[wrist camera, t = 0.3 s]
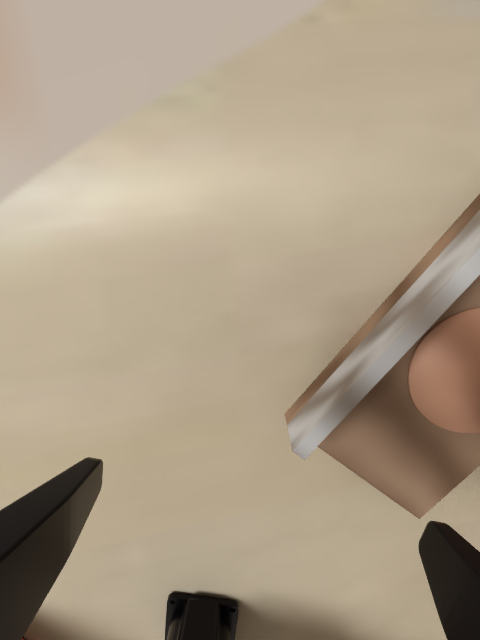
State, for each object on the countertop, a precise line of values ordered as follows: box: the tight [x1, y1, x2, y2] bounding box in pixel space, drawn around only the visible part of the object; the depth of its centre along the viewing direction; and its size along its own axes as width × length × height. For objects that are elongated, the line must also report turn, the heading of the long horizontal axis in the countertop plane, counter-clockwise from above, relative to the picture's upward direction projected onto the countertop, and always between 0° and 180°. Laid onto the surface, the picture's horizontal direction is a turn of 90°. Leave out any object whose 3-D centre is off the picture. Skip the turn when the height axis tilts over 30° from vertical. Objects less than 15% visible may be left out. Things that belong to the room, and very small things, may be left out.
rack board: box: [285, 194, 480, 519], centre depth 20 cm, size 22×13×4 cm, turn 143°
